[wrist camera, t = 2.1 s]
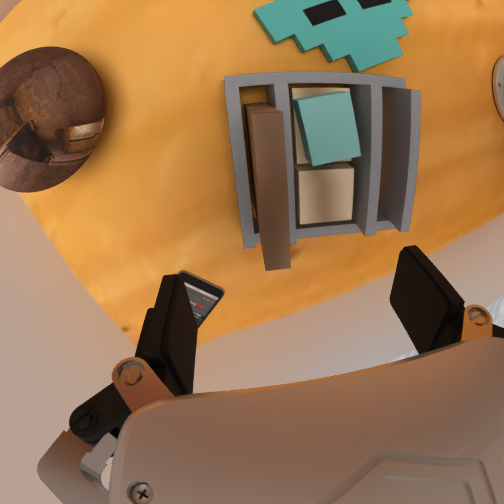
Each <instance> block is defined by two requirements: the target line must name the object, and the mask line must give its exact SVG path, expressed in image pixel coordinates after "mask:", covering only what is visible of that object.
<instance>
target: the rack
mask: <svg viewBox="0 0 504 504" xmlns="http://www.w3.org/2000/svg"><path fill="white" fill-rule="evenodd" d="M224 79H225V88H224V89H225V97H226V106H227V114H228V123H229V131H230V140H231V148H232V156H233V165H234V173H235V181H236V189H237V197H238V205H239V213H240V221H241V229H242V237H243V245H244V249H249V248H256V246H255V243H260V242H261V239H260V233H259V227H258V222H257V218H253V217H252V208H251V198H250V189H249V179H248V169H247V160H246V151H245V141H244V132H243V122H242V113H241V104H240V95H239V87H246V86H257V85H266V94H267V105H269V106H272V107H274V108H276V109H278V110H280V111H282V112H283V119H284V133H285V148H286V165H287V183H288V204H289V229H290V244H295V243H296V239H297V238H307V237H316V236H326V235H336V234H345V233H355V232H363V234H364V235H365V236H369V235H375V230H385V229H395V228H397V229H398V230H399V231H400V232H408V231H409V227H410V221H411V215H412V208H413V201H414V194H415V185H416V176H417V166H418V154H419V139H420V104H421V100H420V91H418V90H411V89H405V79H404V78H397V77H389V76H381V75H371V74H360V73H345V72H311V71H305V72H271V73H256V74H244V75H234V76H226V77H224ZM296 83H333V84H345V88H350V96H351V101H352V106H353V111H354V116H355V122H356V127H357V133H358V139H359V145H360V152H361V156H358V157H353V158H351V161H346V163H347V164H349V165H350V166H351V167H353V168H354V185H353V205H352V220H342V221H331V222H320V223H310V224H300V223H299V221H298V219H297V216H296V214H295V192H294V168H293V149H292V132H291V117H290V103H289V90H288V84H296Z"/></svg>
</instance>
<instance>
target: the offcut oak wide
mask: <svg viewBox="0 0 504 504" xmlns="http://www.w3.org/2000/svg"><path fill="white" fill-rule="evenodd" d="M288 90H289V103H290V117H291V132H292V149H293V159H294V161H295V162H296V163H297V164H305V163H309V162H308V161H307V160H306V158H305V153H304V149H303V144H302V140H301V136H300V131H299V127H298V123H297V119H296V115H295V111H294V107H293V103H292V99H297V98H302V97H307V96H312V95H318V94H324V93H330V92H336V91H344V92H350V88H334V87H308V88H288ZM339 161H351V158H348V159H344V160H339ZM339 161H334V162H339Z"/></svg>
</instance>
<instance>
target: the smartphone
mask: <svg viewBox="0 0 504 504" xmlns="http://www.w3.org/2000/svg"><path fill="white" fill-rule="evenodd" d="M178 276H179V277H183V279H184V283H185V286H186V290H187V293H188V296H189V300H190V303H191V306H192V310H193V313H194V316H195V319H196V323H197V329H198V328H199V327H200V325H201V324H202V323H203V322H204V320H205V319H206V318H207V316H208V315H209V314H210V312H211V311H212V310H213V309H214V307H215V306H216V305H217V303H218V302H219V301H220V299H221V298H222V297H223V296H224V293H225V292H224V289H223V288H221V287H219V286H216V285H214V284H212V283H210V282H208V281H206V280H204V279H202V278H200V277H197V276H195V275H193V274H191V273H189V272H187V271H184V270H182V271H180V272H179V273H178Z"/></svg>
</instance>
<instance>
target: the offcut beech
mask: <svg viewBox="0 0 504 504" xmlns="http://www.w3.org/2000/svg"><path fill="white" fill-rule="evenodd" d="M293 168H294V192H295V214H296V216H297V219H298V221H299V223H300V224H310V223H320V222H331V221H342V220H352V205H353V185H354V168H353V167H351V166H350V165H349V164H347V163H346V162H345V161H339V162H330V163H325V164H321V165H317V166H312V165H311V164H310V163H305V164H297V163H296V162H295V161H294V160H293Z"/></svg>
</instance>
